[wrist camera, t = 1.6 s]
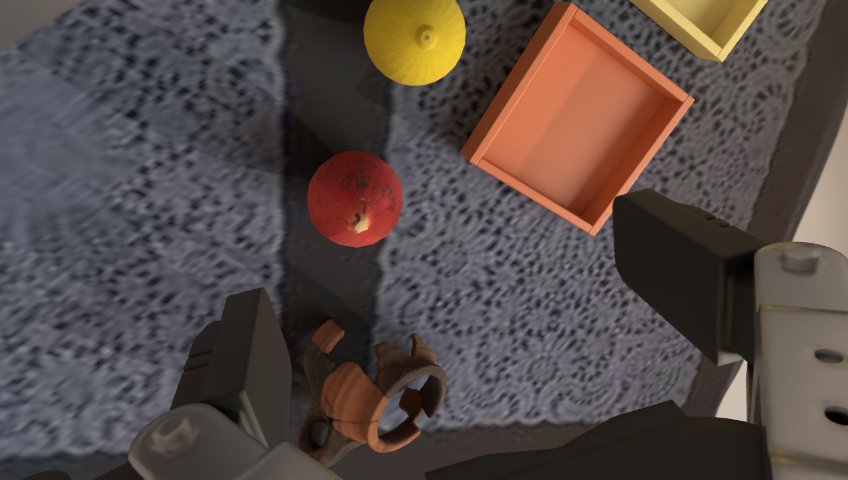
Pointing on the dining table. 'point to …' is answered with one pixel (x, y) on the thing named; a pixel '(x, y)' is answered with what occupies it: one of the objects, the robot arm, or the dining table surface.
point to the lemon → (414, 38)
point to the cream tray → (703, 22)
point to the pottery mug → (365, 396)
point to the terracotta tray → (576, 119)
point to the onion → (354, 198)
